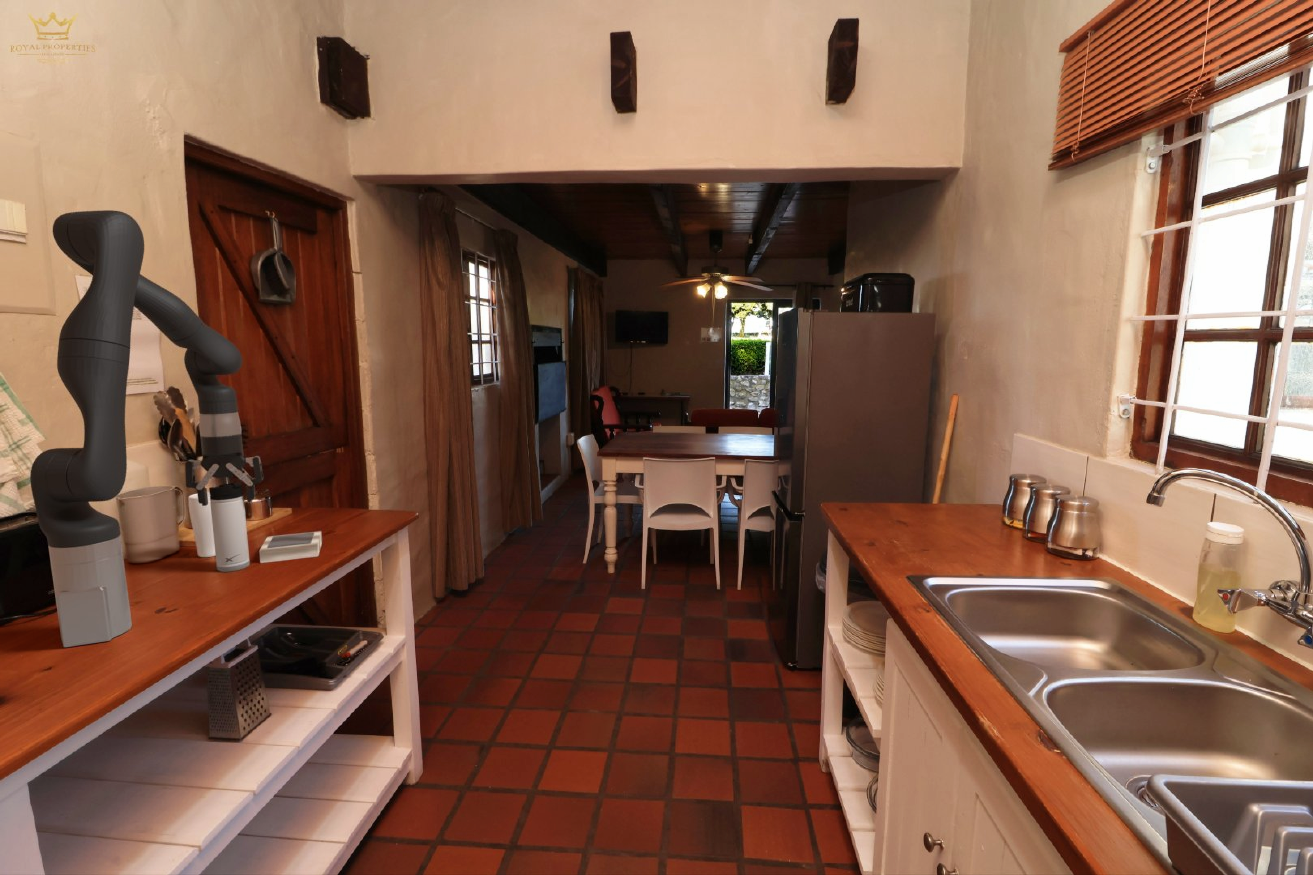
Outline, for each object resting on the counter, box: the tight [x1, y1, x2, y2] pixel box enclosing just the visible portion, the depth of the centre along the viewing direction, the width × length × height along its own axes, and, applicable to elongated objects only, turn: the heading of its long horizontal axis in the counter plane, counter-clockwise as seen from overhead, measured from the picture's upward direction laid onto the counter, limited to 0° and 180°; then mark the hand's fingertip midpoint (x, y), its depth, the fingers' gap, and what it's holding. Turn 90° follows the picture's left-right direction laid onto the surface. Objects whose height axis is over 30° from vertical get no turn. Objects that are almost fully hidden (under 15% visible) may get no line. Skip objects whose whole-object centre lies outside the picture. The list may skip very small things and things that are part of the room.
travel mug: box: [208, 481, 251, 573], centre depth 140 cm, size 6×7×20 cm
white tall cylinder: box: [187, 491, 216, 558], centre depth 149 cm, size 7×7×15 cm
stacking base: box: [258, 530, 323, 564], centre depth 152 cm, size 12×12×3 cm
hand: (228, 503), depth 139 cm, fingers open, 8 cm apart
